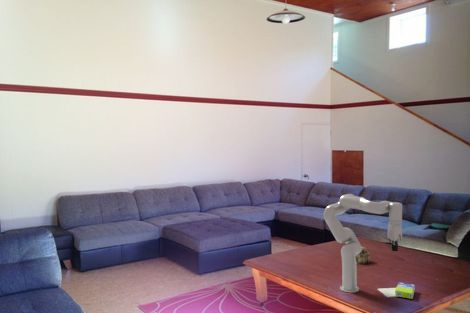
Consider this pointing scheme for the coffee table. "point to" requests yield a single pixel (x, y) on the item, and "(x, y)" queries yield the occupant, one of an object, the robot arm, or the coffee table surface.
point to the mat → (388, 292)
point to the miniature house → (363, 257)
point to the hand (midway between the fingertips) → (394, 250)
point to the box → (405, 290)
